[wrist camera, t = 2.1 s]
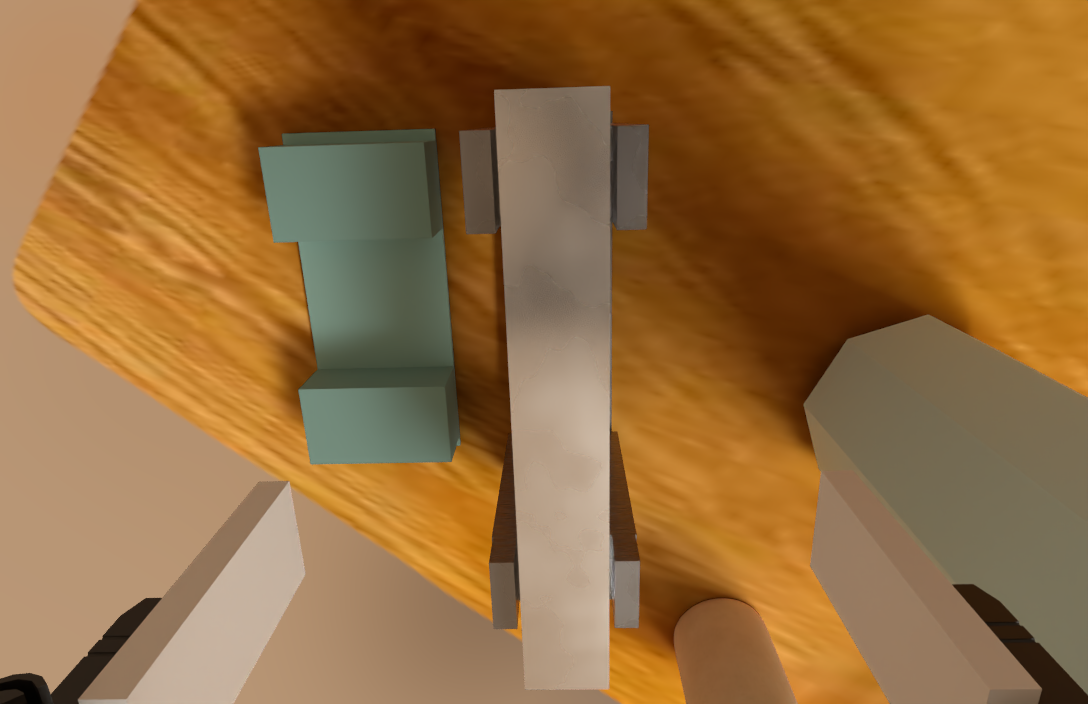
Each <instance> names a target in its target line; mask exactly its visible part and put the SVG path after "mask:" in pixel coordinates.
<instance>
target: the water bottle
mask: <svg viewBox="0 0 1088 704" xmlns="http://www.w3.org/2000/svg"><path fill="white" fill-rule="evenodd" d="M803 405H804V409H805V414H806V418H807V422H808V426H809V430H810V435H811V439H812V443H813V447H814V451H815V456H816V460H817V464H818V468H819V470H820V471H841V470H853V471H854V472H855V473H856V474H857V475H858V477H859V478H860V479H861V480H862V481H863V482H864V484H865V485H866V486H867V487H868V488H869V489H870V490H871V492H872V493H873V494H874V495H875V496H876V497H877V499H878V500H879V501H880V502H881V503H882V504H883V506H884V507H885V508H886V509H887V510H888V511H889V512H890V514H891V515H892V516H893V517H894V518H895V519H896V521H897V522H898V523H899V524H900V525H901V526H902V527H903V529H904V530H905V531H906V532H907V533H908V534H909V536H910V537H911V538H912V539H913V540H914V541H915V543H916V544H917V545H918V546H919V547H920V548H921V549H922V551H923V552H924V553H925V554H926V555H927V556H928V558H929V559H930V560H931V561H932V562H933V563H934V565H935V566H936V567H937V568H938V569H939V570H940V571H941V573H942V574H943V575H944V576H945V577H946V578H947V580H948V581H949V582H950V583H951V584H974V585H976V586H977V587H979V588H980V589H982V590H983V591H985V592H986V593H988V594H990V595H991V596H993V597H994V598H996V599H997V600H999V601H1000V602H1001V603H1002V604H1003V605H1004V606H1005V607H1006V608H1007V609H1008V610H1009V611H1010V612H1011V613H1012V615H1013V616H1014V617H1015V618H1016V619H1017V620H1018V621H1019V624H1020V626H1024V627H1025V628H1026V629H1027V631H1028V632H1029V633H1030V634H1031V635H1032V636H1033V637H1034V638H1035V642H1036V643H1040V644H1041V646H1042V647H1043V648H1044V649H1045V650H1046V651H1047V652H1048V653H1049V654H1050V655H1051V656H1052V657H1053V658H1054V659H1055V661H1056V662H1057V663H1058V664H1059V665H1060V666H1061V667H1062V668H1063V669H1064V670H1065V671H1066V672H1067V673H1068V674H1069V675H1070V677H1071V678H1072V679H1073V680H1074V681H1075V682H1076V683H1077V684H1078V685H1079V686H1080V687H1081V688H1082V689H1083V690H1084V692H1085V693H1086V694H1087V695H1088V397H1086V396H1084V395H1082V394H1080V393H1078V392H1076V391H1074V390H1072V389H1071V388H1069V387H1067V386H1065V385H1063V384H1061V383H1059V382H1057V381H1055V380H1054V379H1052V378H1050V377H1048V376H1046V375H1044V374H1042V373H1040V372H1038V371H1037V370H1035V369H1033V368H1031V367H1029V366H1027V365H1025V364H1023V363H1021V362H1020V361H1018V360H1016V359H1014V358H1012V357H1010V356H1008V355H1006V354H1004V353H1003V352H1001V351H999V350H997V349H995V348H993V347H991V346H989V345H987V344H985V343H983V342H981V341H979V340H977V339H976V338H974V337H972V336H970V335H968V334H966V333H964V332H962V331H960V330H958V329H956V328H954V327H952V326H950V325H948V324H946V323H944V322H942V321H940V320H939V319H937V318H935V317H933V316H931V315H929V314H928V315H925V316H921V317H918V318H915V319H912V320H908V321H905V322H902V323H898V324H895V325H892V326H889V327H885V328H882V329H879V330H876V331H872V332H869V333H866V334H862V335H859V336H856V337H853V338H849V339H847V341H846V342H845V344H844V345H843V346H842V348H841V349H840V351H839V352H838V354H837V355H836V357H835V358H834V360H833V361H832V363H831V364H830V366H829V367H828V369H827V370H826V372H825V373H824V375H823V376H822V377H821V379H820V380H819V382H818V383H817V385H816V386H815V388H814V389H813V391H812V392H811V394H810V395H809V397H808V398H807V400H806V401H805V403H804V404H803Z"/></svg>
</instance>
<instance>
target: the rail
mask: <svg viewBox="0 0 1088 704" xmlns="http://www.w3.org/2000/svg"><path fill="white" fill-rule="evenodd" d="M494 100H495V120H496V139H497V158H498V178H499V197H500V216H501V235H502V255H503V274H504V293H505V312H506V332H507V351H508V370H509V389H510V409H511V428H512V447H513V466H514V486H515V505H516V524H517V543H518V563H519V582H520V601H521V620H522V640H523V659H524V676H525V677H524V678H525V690H550V689H551V690H554V689H556V690H558V689H559V690H560V689H609V477H610V86H593V87H564V88H535V89H506V90H494Z"/></svg>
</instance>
